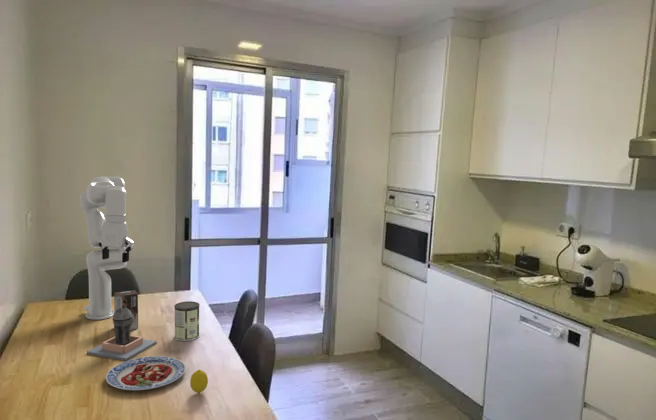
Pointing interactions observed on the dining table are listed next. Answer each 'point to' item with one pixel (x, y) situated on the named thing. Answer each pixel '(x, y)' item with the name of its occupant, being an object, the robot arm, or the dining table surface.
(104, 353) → the collar stand
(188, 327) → the coffee can
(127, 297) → the coffee box
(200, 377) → the lemon
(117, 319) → the beverage cup
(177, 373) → the ceramic plate
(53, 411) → the dining table surface
